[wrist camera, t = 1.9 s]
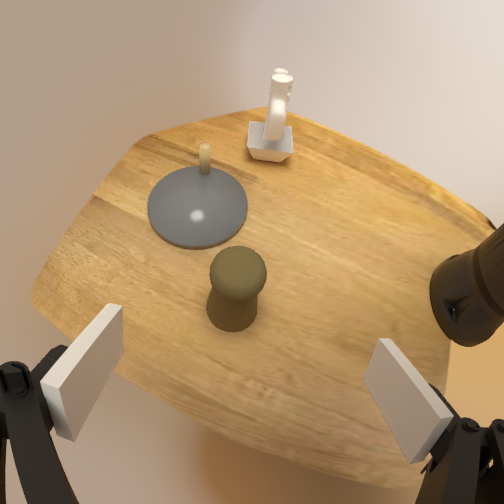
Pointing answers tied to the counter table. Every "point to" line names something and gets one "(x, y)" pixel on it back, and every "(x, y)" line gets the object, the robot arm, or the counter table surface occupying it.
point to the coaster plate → (197, 205)
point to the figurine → (273, 123)
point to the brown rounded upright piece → (235, 288)
